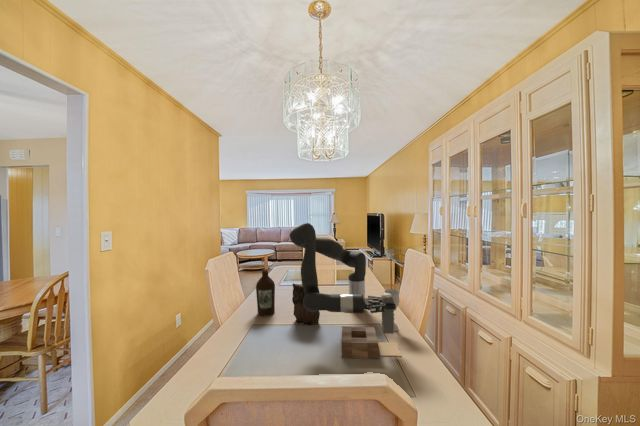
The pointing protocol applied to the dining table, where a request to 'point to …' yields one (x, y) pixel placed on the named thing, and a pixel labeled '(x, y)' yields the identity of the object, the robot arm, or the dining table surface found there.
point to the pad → (389, 349)
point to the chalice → (395, 296)
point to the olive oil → (265, 295)
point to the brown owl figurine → (303, 308)
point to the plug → (387, 315)
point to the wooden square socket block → (359, 342)
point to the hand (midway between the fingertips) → (394, 304)
